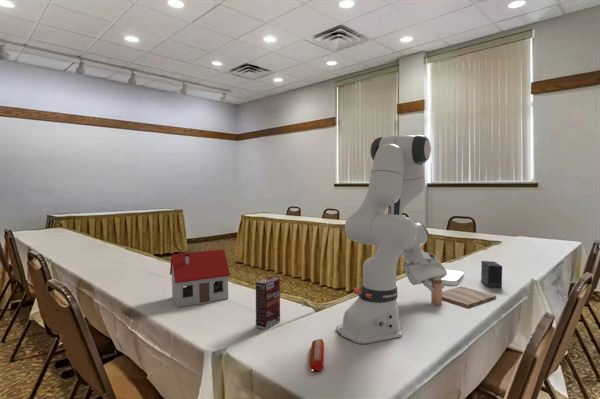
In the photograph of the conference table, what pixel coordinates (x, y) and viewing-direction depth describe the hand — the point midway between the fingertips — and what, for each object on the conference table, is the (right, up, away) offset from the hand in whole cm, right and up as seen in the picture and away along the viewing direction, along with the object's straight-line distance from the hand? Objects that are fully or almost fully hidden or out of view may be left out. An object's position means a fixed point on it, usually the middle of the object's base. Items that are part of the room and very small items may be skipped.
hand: (437, 289), depth 138 cm
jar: (0, -6, +1) cm, 6 cm away
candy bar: (-51, -9, -42) cm, 67 cm away
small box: (+36, -5, +26) cm, 45 cm away
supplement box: (-67, -8, -18) cm, 70 cm away
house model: (-100, -7, +12) cm, 101 cm away
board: (+14, -5, +7) cm, 17 cm away
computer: (+16, -5, +39) cm, 43 cm away
